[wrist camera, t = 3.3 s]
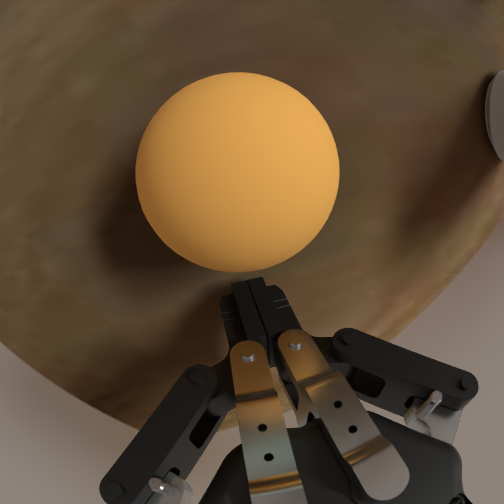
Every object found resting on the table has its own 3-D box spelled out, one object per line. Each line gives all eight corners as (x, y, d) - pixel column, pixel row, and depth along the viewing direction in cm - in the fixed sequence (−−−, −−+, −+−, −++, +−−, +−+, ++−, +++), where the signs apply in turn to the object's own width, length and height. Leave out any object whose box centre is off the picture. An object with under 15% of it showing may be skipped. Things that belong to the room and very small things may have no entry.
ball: (137, 95, 9) (86, 89, 4) (289, 77, 10) (384, 65, 4) (164, 233, 12) (159, 336, 7) (296, 209, 13) (368, 287, 8)
